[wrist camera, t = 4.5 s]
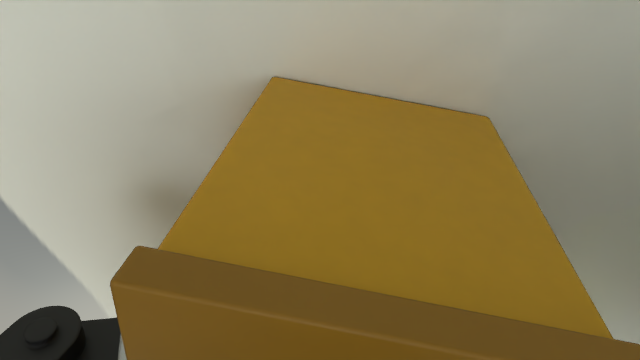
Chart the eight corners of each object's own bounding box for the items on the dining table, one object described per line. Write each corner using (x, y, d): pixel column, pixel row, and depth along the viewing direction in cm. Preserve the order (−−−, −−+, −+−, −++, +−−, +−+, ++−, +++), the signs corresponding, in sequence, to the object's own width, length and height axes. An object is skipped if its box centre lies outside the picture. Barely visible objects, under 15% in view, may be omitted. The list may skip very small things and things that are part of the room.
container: (498, 111, 10) (677, 396, 4) (400, 334, 15) (416, 600, 9) (266, 68, 10) (106, 282, 4) (249, 304, 15) (168, 548, 9)
